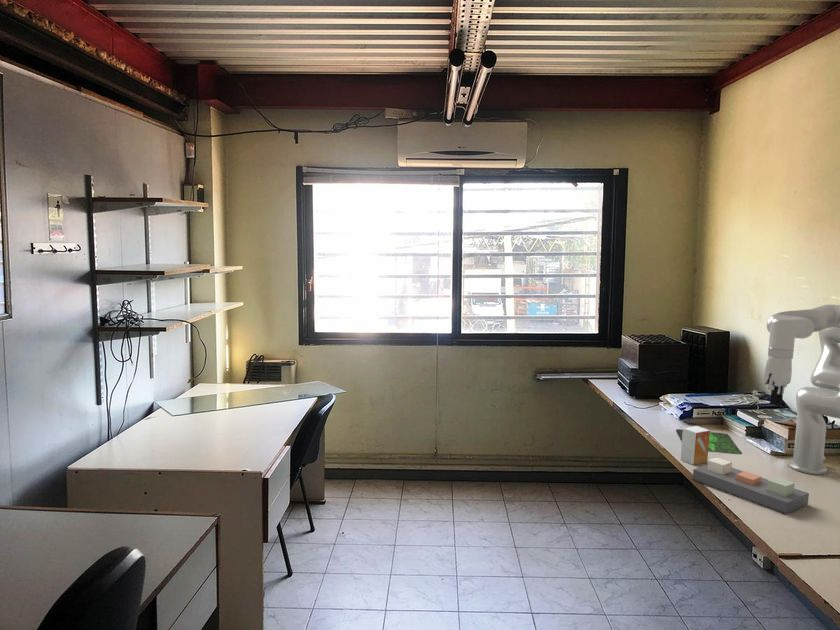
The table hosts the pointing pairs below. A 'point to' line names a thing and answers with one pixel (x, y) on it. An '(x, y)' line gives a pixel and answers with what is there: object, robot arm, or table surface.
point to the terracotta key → (748, 478)
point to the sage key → (781, 486)
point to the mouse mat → (718, 443)
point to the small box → (695, 445)
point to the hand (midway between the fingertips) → (775, 404)
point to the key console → (751, 490)
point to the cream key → (719, 466)
